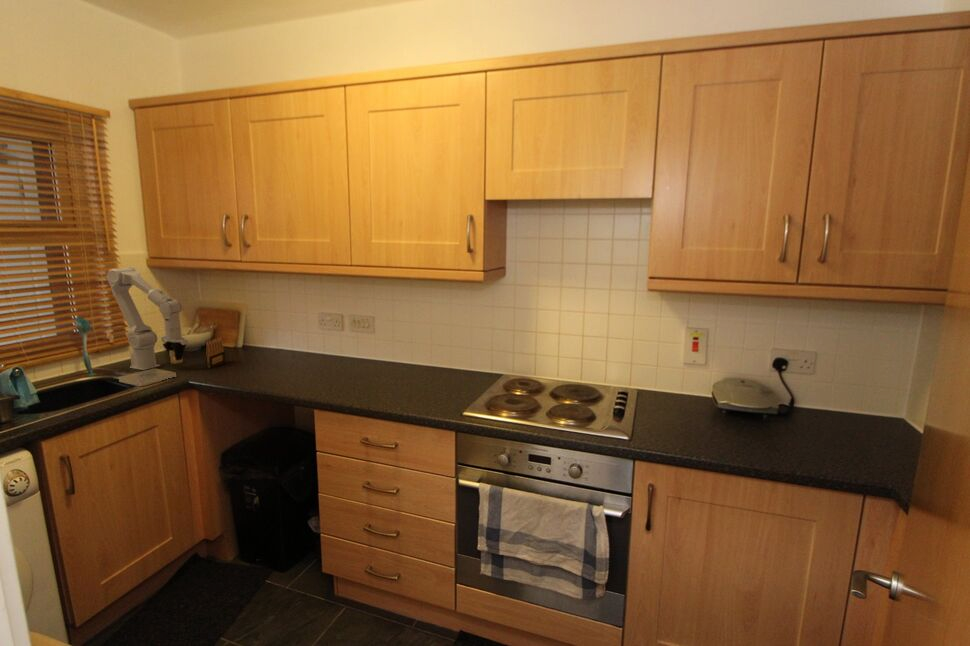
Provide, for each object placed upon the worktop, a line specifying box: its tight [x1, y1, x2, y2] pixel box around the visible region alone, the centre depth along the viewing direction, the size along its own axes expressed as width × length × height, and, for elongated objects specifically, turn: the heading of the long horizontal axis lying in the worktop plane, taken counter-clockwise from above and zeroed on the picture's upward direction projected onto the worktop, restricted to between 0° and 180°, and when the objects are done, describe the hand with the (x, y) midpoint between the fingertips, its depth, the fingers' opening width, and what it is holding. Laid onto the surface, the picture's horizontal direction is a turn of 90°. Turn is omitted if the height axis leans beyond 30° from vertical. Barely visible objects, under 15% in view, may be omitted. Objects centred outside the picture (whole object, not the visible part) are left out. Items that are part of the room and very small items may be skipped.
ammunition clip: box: [205, 336, 227, 369], centre depth 223 cm, size 11×2×12 cm, turn 172°
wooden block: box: [169, 350, 183, 364], centre depth 216 cm, size 3×3×6 cm
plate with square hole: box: [118, 367, 177, 387], centre depth 202 cm, size 14×14×2 cm
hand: (176, 359), depth 217 cm, fingers closed on wooden block, 3 cm apart
